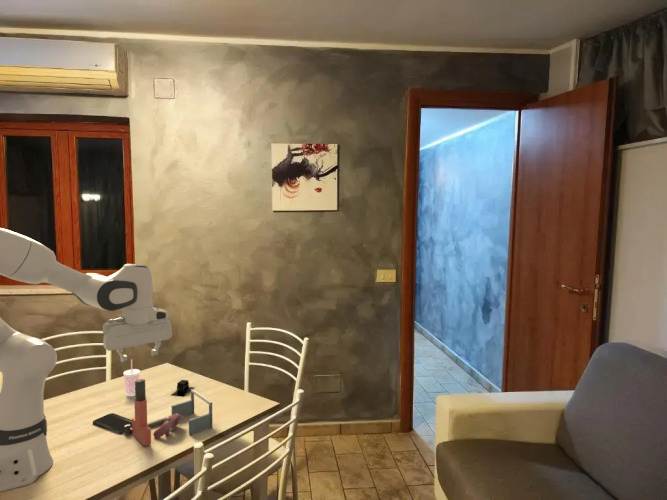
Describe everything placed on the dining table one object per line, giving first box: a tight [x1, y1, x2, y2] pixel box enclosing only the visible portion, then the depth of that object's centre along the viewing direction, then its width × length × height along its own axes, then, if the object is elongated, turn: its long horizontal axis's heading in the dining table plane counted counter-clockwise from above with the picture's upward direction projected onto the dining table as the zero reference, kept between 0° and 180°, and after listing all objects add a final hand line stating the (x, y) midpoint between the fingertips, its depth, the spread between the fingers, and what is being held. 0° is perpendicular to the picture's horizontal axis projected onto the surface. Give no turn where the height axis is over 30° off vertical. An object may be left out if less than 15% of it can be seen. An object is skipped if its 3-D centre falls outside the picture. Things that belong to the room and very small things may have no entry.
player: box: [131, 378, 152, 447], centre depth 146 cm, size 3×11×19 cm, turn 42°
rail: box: [123, 416, 168, 436], centre depth 154 cm, size 14×1×3 cm, turn 132°
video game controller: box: [153, 413, 183, 439], centre depth 152 cm, size 10×5×7 cm, turn 169°
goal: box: [171, 388, 213, 436], centre depth 158 cm, size 8×15×9 cm, turn 42°
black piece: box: [171, 379, 195, 398], centre depth 185 cm, size 12×7×5 cm, turn 169°
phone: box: [92, 412, 132, 435], centre depth 157 cm, size 8×1×15 cm
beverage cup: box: [122, 358, 141, 397], centre depth 181 cm, size 6×6×14 cm
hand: (139, 358), depth 144 cm, fingers open, 8 cm apart
